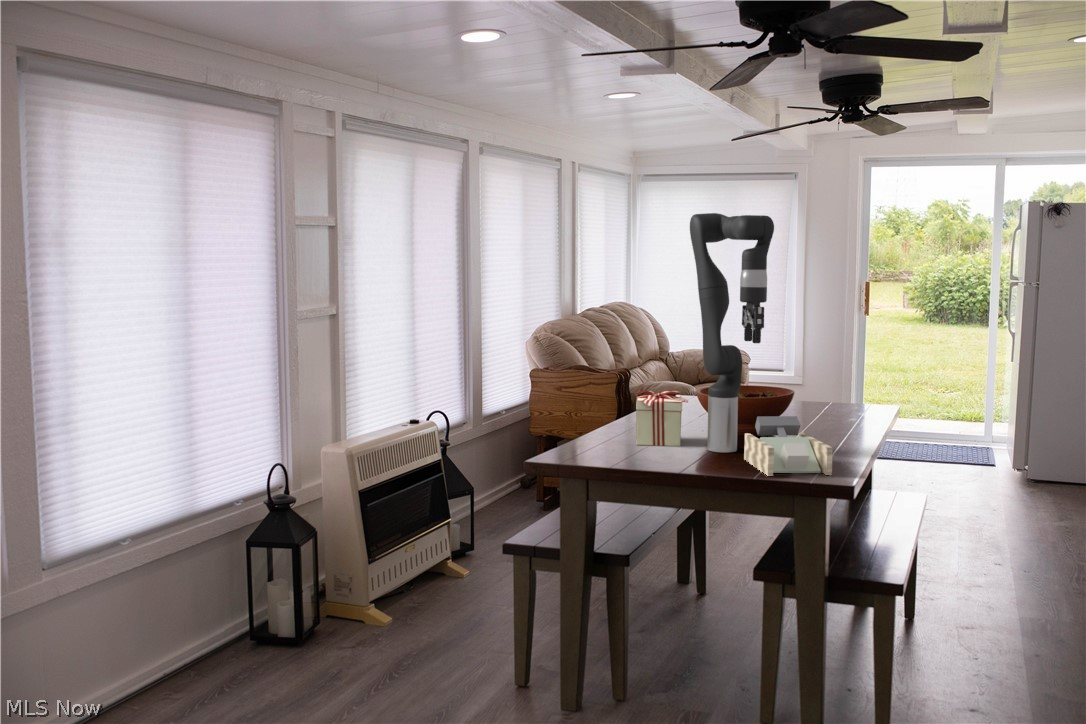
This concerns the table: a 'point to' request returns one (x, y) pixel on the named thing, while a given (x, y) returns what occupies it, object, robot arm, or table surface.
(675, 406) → the gift box
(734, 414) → the robot arm
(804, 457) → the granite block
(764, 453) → the stand
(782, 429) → the trapdoor
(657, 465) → the table surface
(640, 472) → the table surface
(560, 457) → the table surface
